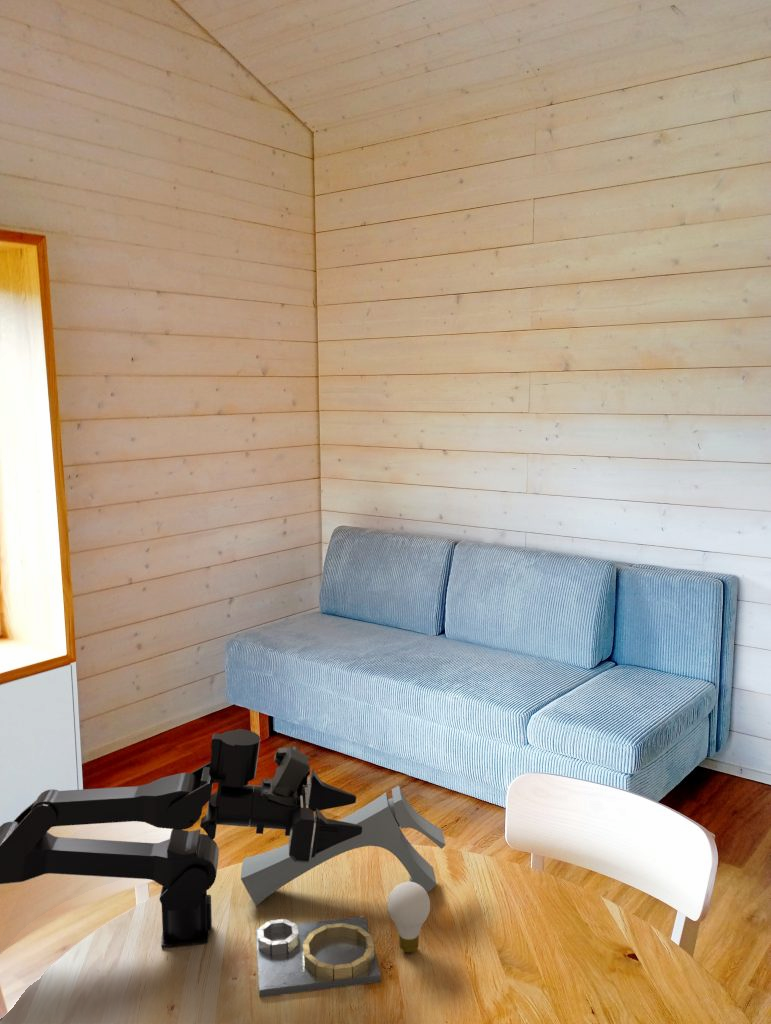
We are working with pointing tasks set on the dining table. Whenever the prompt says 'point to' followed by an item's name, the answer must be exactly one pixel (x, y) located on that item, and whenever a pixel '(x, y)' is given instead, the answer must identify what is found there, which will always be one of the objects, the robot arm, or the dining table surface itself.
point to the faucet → (351, 847)
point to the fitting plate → (314, 955)
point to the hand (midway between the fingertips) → (358, 814)
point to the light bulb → (408, 912)
